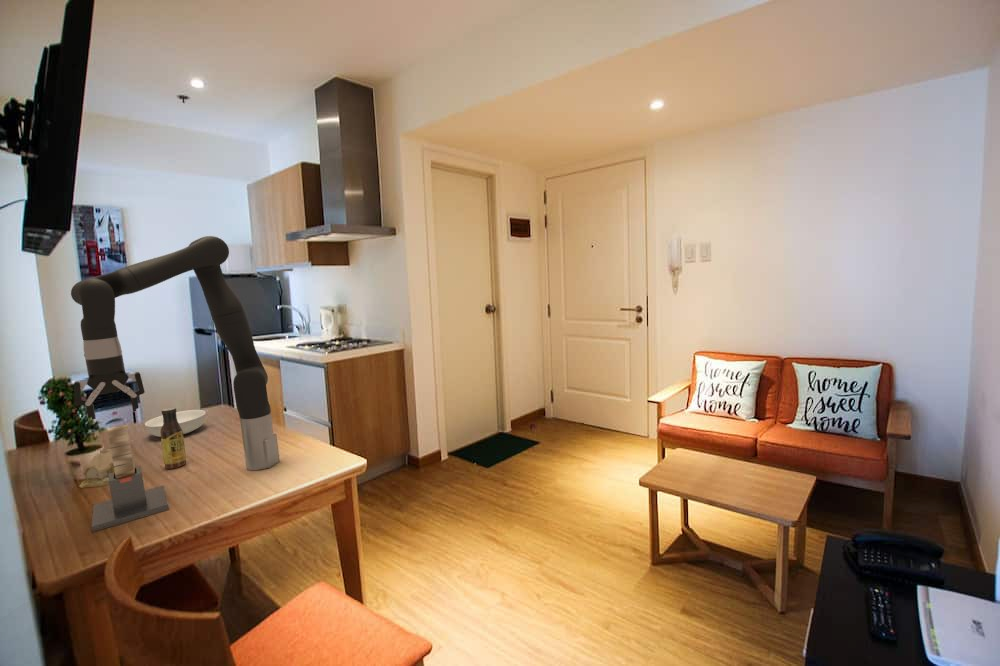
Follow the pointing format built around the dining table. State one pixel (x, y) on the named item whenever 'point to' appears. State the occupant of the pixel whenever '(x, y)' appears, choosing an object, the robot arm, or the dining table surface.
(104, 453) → the ceramic model
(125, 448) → the ash post
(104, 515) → the graphite stand
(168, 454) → the sauce bottle
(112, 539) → the dining table surface
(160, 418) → the serving bowl
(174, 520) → the dining table surface
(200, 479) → the dining table surface
